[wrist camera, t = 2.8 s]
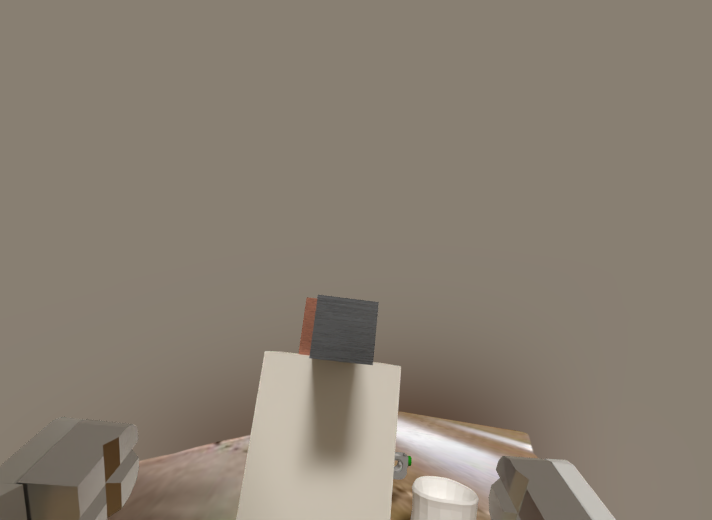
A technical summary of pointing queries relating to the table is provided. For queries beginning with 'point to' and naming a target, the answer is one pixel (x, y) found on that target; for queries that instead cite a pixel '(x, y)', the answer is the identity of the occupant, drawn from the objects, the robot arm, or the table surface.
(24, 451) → the robot arm
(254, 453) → the cream block
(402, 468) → the mechanical component
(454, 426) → the table surface
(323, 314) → the grey long block
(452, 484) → the cup
